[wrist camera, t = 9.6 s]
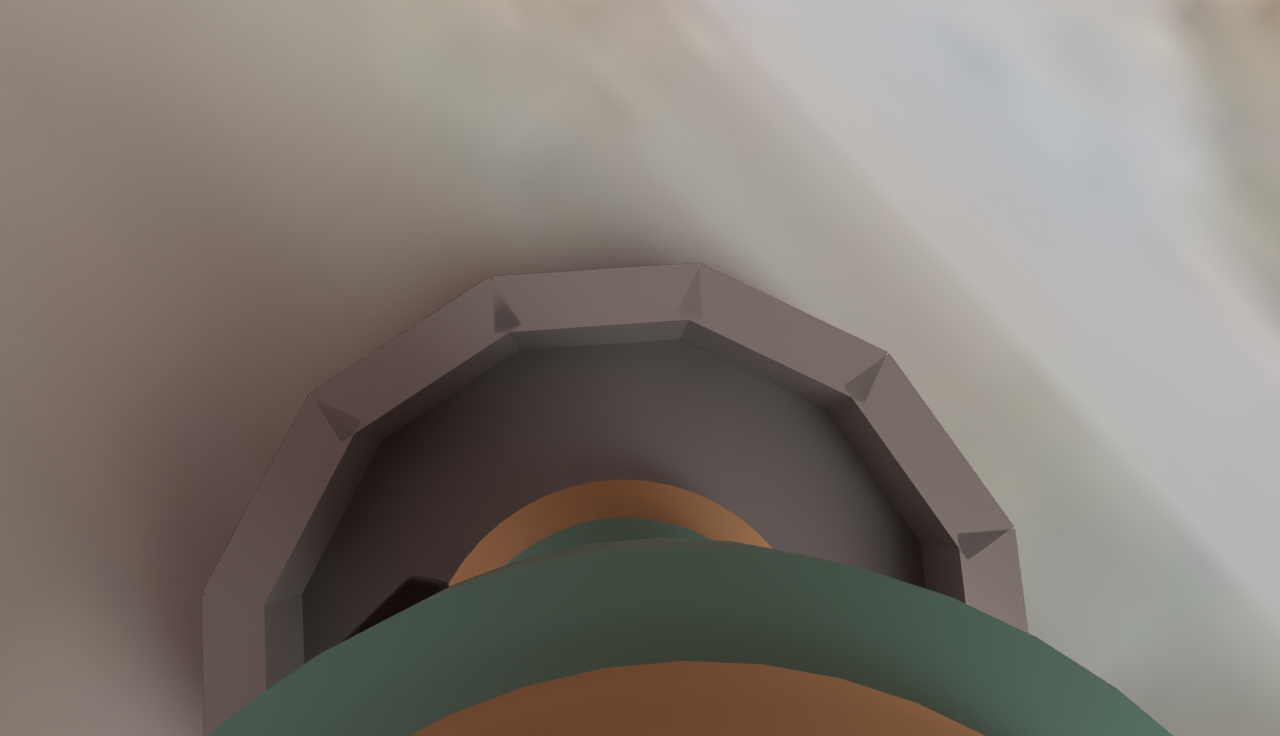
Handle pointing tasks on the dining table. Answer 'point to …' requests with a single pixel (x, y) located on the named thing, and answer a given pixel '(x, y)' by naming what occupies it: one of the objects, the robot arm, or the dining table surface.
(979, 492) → the round tray
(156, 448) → the dining table surface
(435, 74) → the dining table surface
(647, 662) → the disc
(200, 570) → the dining table surface
